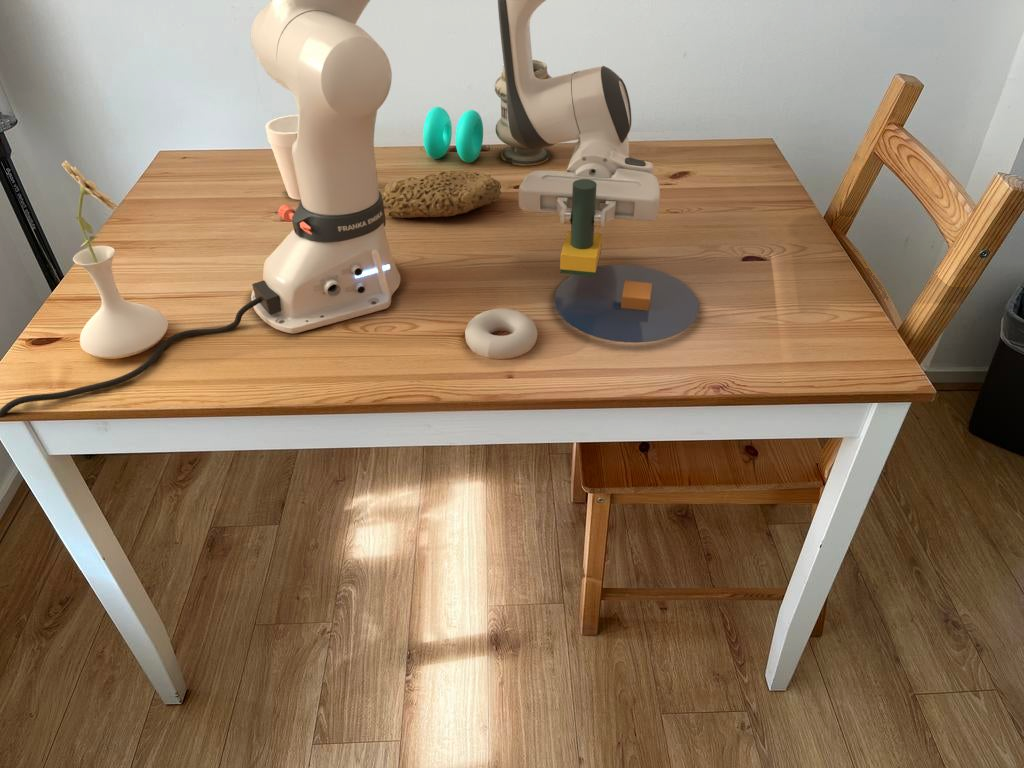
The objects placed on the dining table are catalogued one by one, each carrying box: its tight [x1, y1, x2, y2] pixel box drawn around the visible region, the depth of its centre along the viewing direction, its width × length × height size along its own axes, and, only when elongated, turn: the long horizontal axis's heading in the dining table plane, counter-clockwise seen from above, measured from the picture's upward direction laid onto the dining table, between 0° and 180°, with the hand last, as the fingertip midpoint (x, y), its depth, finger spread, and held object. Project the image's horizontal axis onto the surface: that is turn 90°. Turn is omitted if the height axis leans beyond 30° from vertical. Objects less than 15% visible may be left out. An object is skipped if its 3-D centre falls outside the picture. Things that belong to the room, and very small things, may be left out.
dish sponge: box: [559, 179, 603, 276], centre depth 107 cm, size 7×5×12 cm
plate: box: [553, 264, 700, 344], centre depth 113 cm, size 21×21×1 cm
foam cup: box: [264, 114, 301, 201], centre depth 141 cm, size 10×9×13 cm
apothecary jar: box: [494, 59, 553, 167], centre depth 152 cm, size 12×12×18 cm
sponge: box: [381, 170, 502, 219], centre depth 136 cm, size 13×8×20 cm
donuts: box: [422, 106, 484, 163], centre depth 154 cm, size 10×10×10 cm
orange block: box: [621, 281, 652, 311], centre depth 112 cm, size 4×4×2 cm
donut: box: [464, 308, 539, 360], centre depth 105 cm, size 10×4×10 cm
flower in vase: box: [61, 160, 169, 360], centre depth 100 cm, size 13×11×25 cm
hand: (582, 220), depth 105 cm, fingers closed on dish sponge, 3 cm apart
